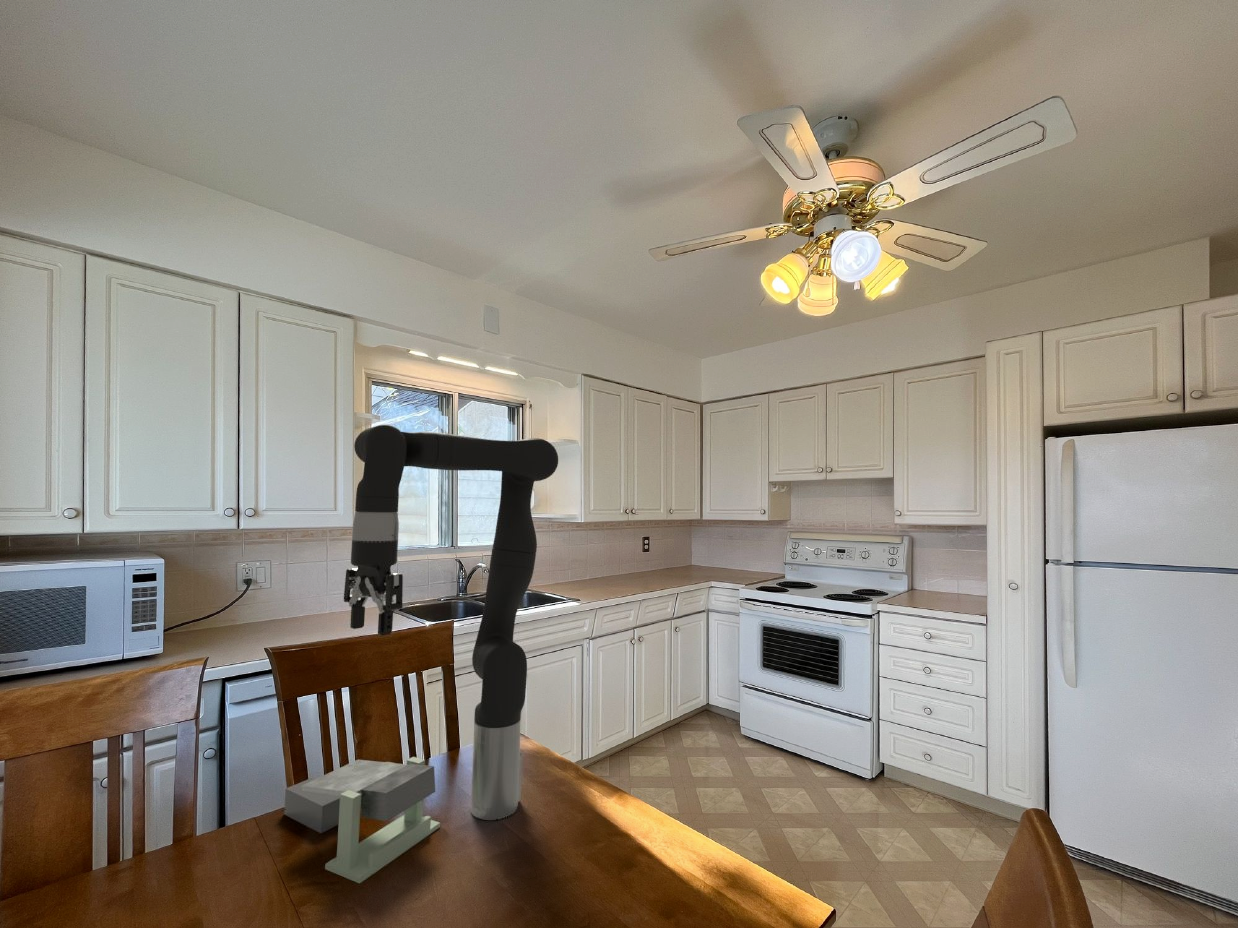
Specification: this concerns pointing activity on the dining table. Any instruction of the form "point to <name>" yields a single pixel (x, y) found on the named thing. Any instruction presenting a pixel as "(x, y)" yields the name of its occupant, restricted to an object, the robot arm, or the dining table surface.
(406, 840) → the frame
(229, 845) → the dining table surface
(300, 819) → the basalt block
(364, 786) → the trapdoor
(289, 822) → the dining table surface
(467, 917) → the dining table surface
